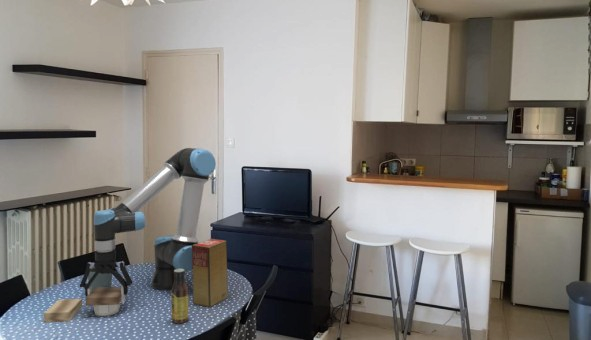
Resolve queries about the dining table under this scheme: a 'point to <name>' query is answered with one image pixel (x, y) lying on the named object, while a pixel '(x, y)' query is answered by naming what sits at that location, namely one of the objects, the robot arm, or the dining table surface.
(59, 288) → the dining table surface
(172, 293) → the sauce bottle
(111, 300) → the cover board
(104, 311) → the bowl
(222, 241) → the food packaging
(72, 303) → the light wooden block
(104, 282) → the grey-green cup
